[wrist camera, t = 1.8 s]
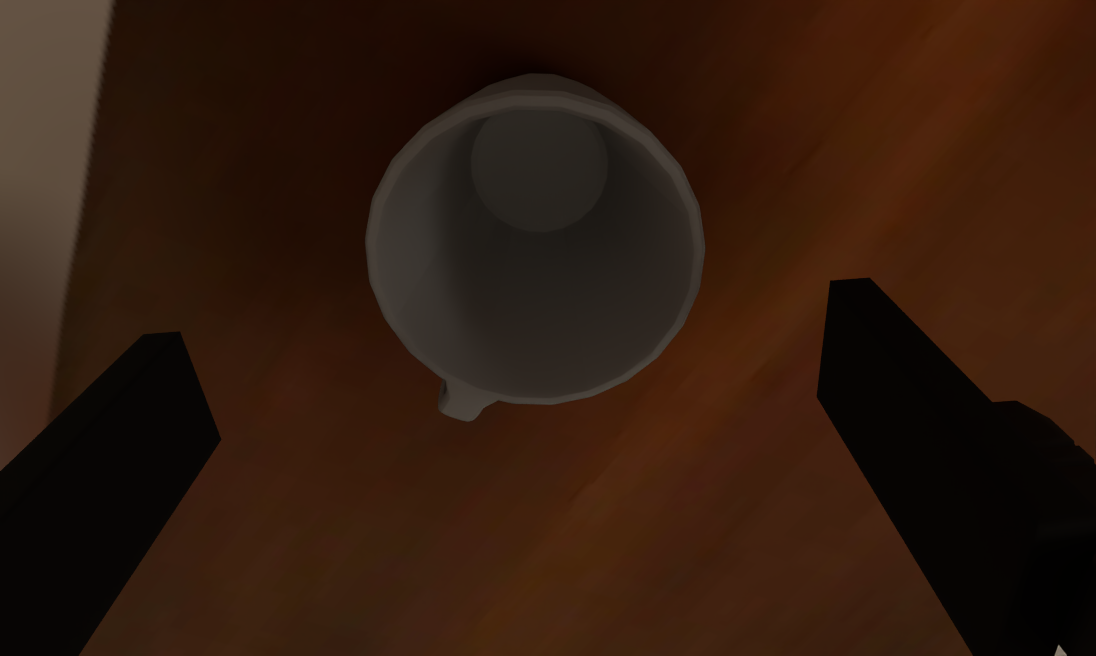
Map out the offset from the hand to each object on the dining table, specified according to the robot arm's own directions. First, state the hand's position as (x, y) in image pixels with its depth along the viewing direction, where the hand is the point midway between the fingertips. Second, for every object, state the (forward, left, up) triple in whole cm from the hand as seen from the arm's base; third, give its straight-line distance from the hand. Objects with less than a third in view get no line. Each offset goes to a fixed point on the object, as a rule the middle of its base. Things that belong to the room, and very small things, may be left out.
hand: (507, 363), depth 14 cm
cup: (0, 0, -11) cm, 11 cm away
